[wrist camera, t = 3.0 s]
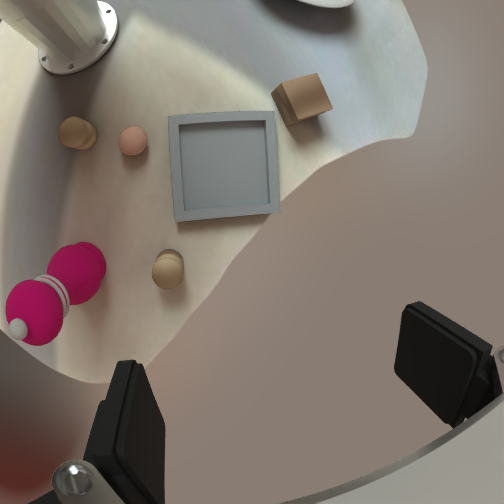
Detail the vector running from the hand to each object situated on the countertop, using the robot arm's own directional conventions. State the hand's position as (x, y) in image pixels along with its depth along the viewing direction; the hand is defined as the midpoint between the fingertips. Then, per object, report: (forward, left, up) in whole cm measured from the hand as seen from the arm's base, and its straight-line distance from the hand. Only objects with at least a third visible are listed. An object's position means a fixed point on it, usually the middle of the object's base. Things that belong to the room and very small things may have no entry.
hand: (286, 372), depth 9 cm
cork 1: (-14, -16, -31) cm, 37 cm away
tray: (-8, +2, -31) cm, 31 cm away
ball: (-12, -9, -29) cm, 32 cm away
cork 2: (+4, -6, -31) cm, 31 cm away
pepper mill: (+3, -18, -31) cm, 36 cm away
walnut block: (-16, +12, -31) cm, 36 cm away
